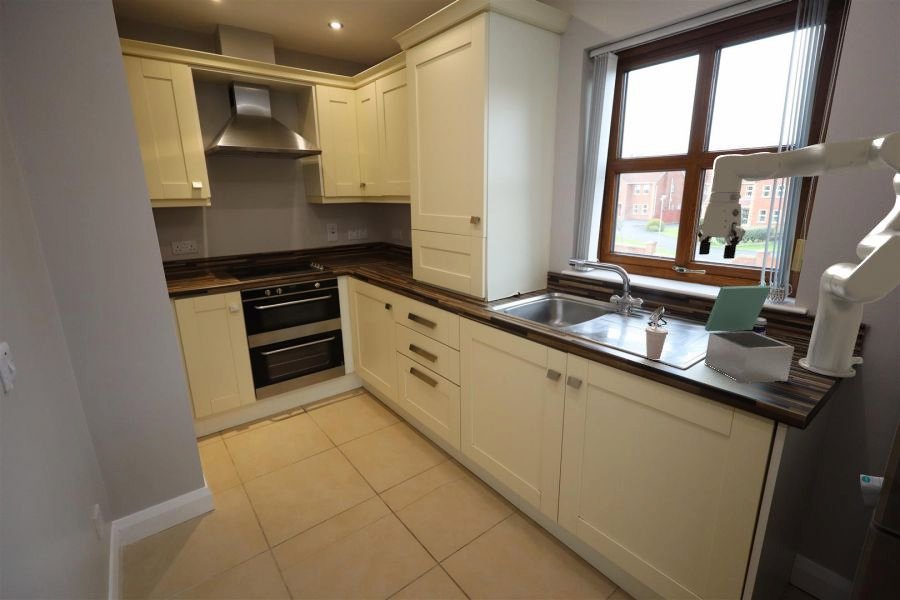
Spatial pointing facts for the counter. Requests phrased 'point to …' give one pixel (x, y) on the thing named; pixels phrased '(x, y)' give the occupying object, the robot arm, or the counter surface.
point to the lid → (737, 308)
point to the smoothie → (655, 340)
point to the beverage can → (759, 326)
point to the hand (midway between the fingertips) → (715, 256)
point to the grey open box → (749, 356)
